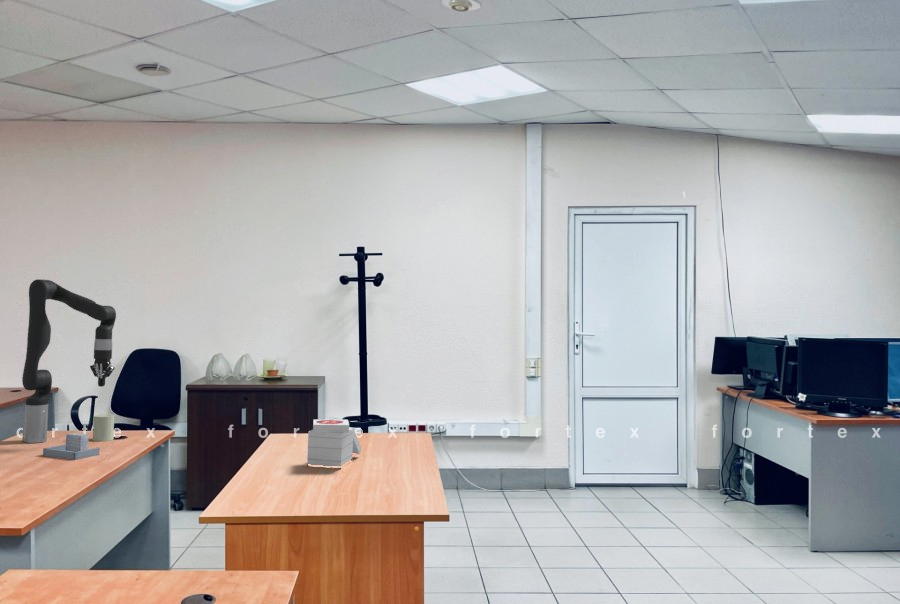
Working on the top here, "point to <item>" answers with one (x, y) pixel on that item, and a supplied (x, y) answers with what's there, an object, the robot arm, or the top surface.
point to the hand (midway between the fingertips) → (101, 386)
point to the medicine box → (76, 442)
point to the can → (103, 427)
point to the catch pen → (69, 452)
